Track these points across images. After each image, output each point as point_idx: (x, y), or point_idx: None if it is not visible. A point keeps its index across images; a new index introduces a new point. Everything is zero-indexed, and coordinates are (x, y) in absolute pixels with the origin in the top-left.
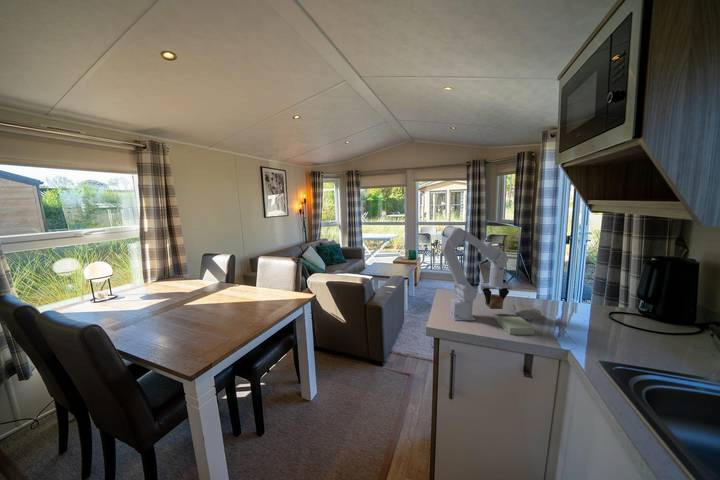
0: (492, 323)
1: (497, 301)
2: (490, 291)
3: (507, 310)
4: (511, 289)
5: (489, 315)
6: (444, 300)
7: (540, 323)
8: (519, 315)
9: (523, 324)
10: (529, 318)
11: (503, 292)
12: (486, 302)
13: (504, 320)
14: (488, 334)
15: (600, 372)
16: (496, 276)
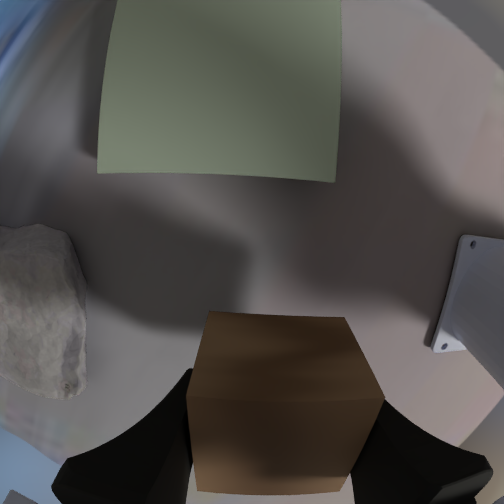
0: (366, 175)
1: (283, 373)
2: (444, 492)
3: (119, 371)
4: (14, 491)
5: (304, 314)
6: None
7: (7, 169)
8: (74, 270)
9: (173, 15)
10: (32, 229)
11: (159, 494)
12: None
13: (315, 94)
14: (460, 45)
15: None
16: None
